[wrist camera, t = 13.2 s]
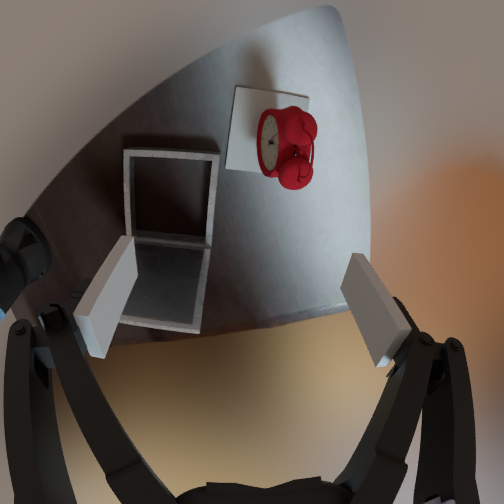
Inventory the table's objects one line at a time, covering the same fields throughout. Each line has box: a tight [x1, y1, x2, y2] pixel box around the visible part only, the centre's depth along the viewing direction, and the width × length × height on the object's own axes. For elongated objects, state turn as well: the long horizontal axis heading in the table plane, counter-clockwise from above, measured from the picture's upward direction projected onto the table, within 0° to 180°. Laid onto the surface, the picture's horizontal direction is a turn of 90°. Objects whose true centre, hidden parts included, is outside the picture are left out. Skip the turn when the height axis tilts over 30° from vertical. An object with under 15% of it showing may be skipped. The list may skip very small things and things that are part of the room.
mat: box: [226, 87, 310, 173], centre depth 39 cm, size 11×13×1 cm
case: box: [124, 147, 221, 249], centre depth 43 cm, size 15×16×3 cm
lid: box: [118, 241, 211, 334], centre depth 39 cm, size 15×16×1 cm
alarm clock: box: [256, 106, 317, 190], centre depth 33 cm, size 10×6×15 cm, turn 178°
